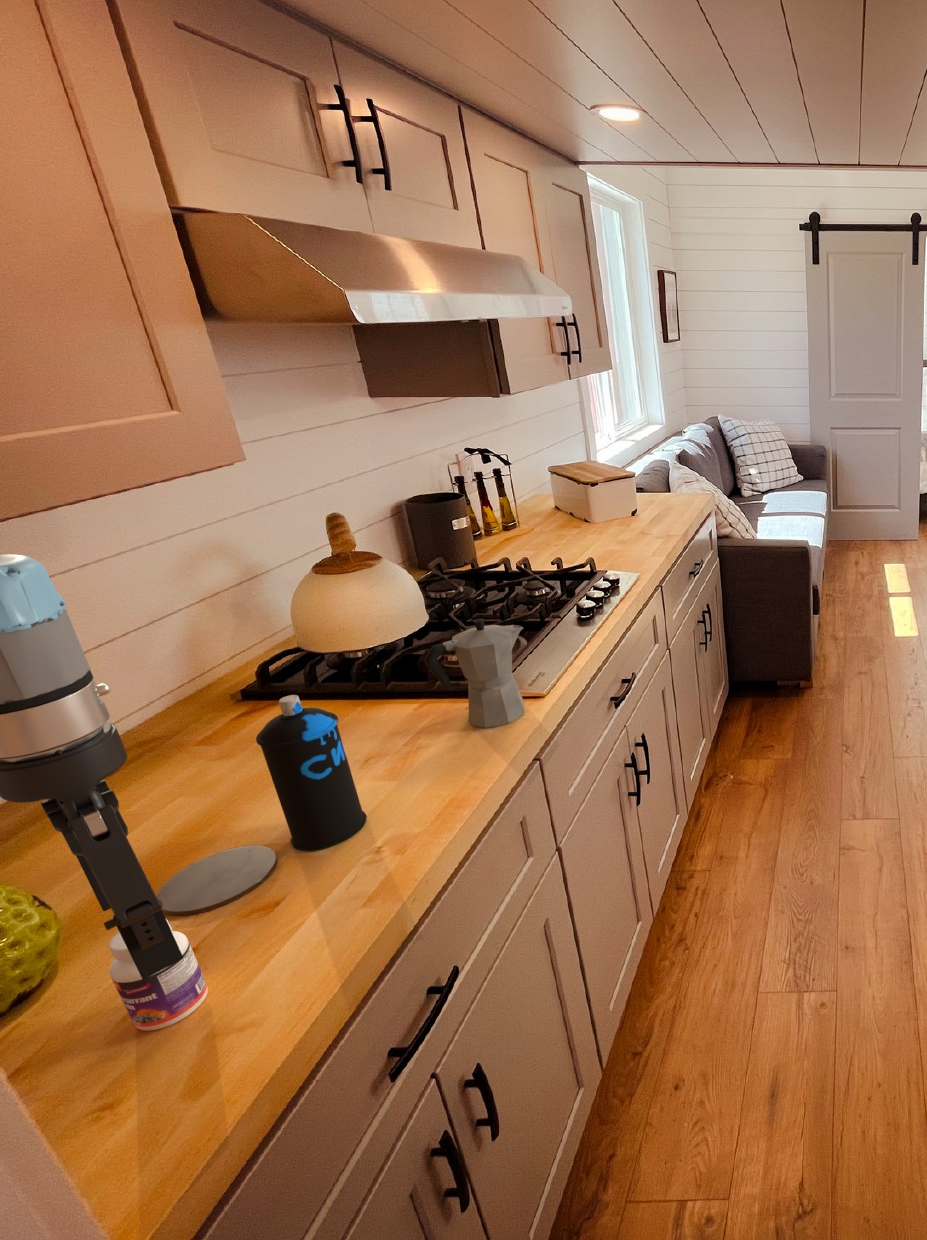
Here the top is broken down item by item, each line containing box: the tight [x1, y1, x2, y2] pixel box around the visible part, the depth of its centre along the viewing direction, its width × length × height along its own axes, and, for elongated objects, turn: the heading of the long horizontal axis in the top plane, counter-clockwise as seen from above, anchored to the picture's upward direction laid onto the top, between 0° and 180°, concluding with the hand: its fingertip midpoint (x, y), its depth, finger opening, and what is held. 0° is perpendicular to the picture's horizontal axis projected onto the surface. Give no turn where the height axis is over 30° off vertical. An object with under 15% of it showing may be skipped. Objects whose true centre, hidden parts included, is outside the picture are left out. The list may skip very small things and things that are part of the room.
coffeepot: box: [424, 618, 526, 729], centre depth 118 cm, size 15×9×18 cm, turn 139°
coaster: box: [156, 844, 279, 917], centre depth 85 cm, size 11×11×1 cm
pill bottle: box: [108, 918, 209, 1031], centre depth 68 cm, size 5×5×10 cm
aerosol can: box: [255, 694, 368, 851], centre depth 91 cm, size 8×8×20 cm
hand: (141, 932), depth 66 cm, fingers open, 13 cm apart
